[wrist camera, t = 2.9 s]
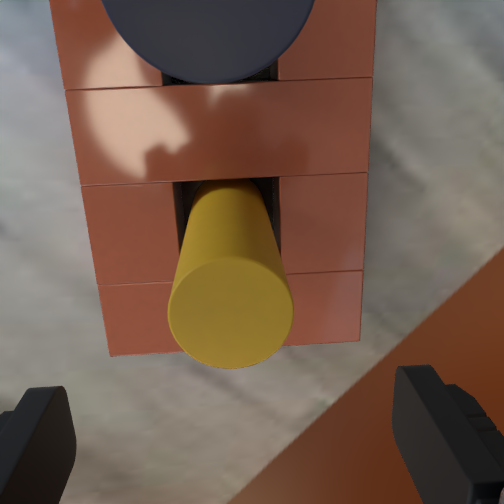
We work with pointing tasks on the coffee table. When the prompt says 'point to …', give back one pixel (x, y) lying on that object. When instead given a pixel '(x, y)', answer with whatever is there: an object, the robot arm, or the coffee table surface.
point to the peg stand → (222, 165)
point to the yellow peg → (230, 279)
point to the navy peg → (209, 34)
